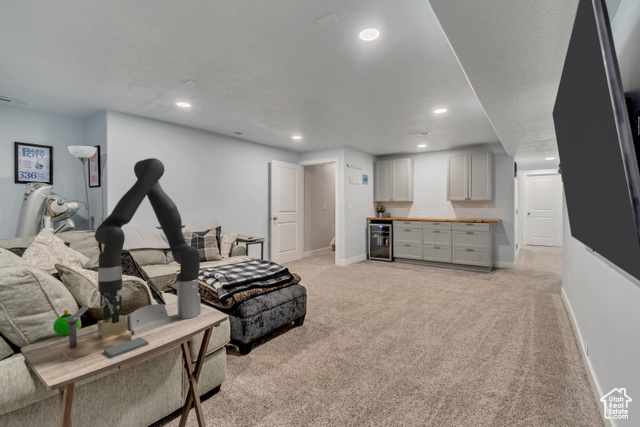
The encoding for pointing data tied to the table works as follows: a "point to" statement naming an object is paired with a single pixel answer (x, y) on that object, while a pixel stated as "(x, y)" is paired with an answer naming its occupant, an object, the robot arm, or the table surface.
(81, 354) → the wooden base stand
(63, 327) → the ornament
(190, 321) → the table surface
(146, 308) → the grey upright curved plate
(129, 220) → the robot arm
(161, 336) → the table surface
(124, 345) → the mat
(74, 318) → the lever
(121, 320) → the tan rectangular block
